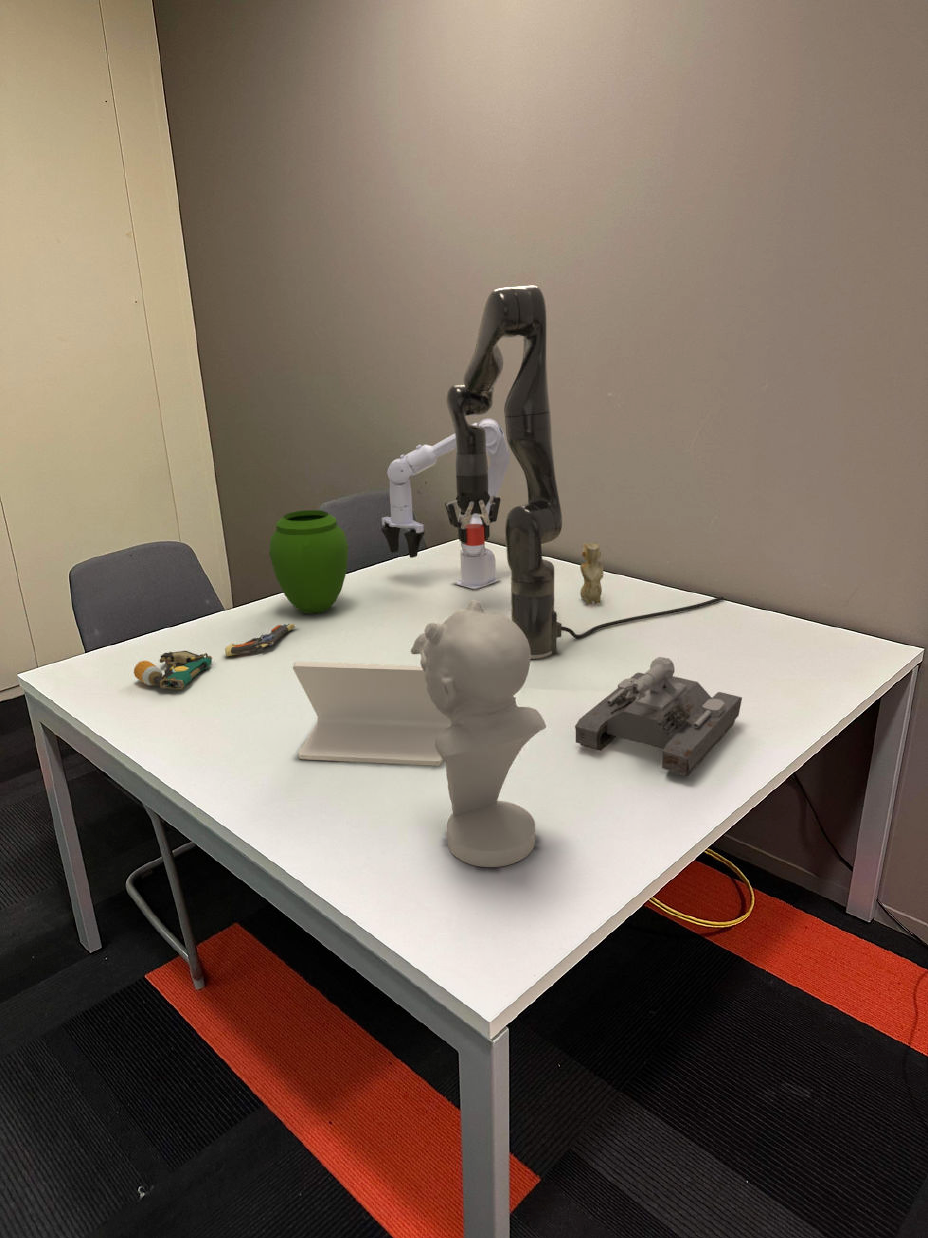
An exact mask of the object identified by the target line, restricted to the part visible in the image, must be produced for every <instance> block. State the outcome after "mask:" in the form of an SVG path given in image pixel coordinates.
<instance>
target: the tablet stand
mask: <svg viewBox="0 0 928 1238" xmlns="http://www.w3.org/2000/svg"><path fill="white" fill-rule="evenodd" d="M292 665H293V666H292V670H293V671H294V673H295V675H296V677H297V679H298V681H299V683H300V685H301V687H302V689H303V692H304V694H305V695H306V697H307V699H308V700H309V703H310V704H311V706H312V708H313V711H314V712H315V714H316V716H317V721H316V724H315V725H314V727H313V728H312V731H311V732H310V734H309V735H308V736H307V738H306V739H305V741H304V742H303V745H301V748H300V749H299V750H298V759H300V760H311V761H312V760H314V761H333V762H334V761H335V762H353V763H354V762H355V763H377V764H396V765H398V764H399V765H417V766H440V765H442V763H443V759H442V758H441V756H440V755H439V753H438V752H437V750H436V747H435V740H436V737H437V736H438V735H439V734H440V733H441V732H442V731H443V730H445V729H446V728H448V727H450V726H451V720H450V719H449V718H448V717H447V716H446V715H443V714H442V713H441V712H440V711H439V710H438V709H437V708H436V706H435V704H434V703H433V702H432V701H431V698H430V695H429V693H428V691H427V683H426V681H425V671H424V670H423V669H422V667H421V665H412V664H410V665H409V664H408V665H407V664H377V663H375V664H374V663H346V662H344V663H343V662H317V661H316V662H315V661H313V662H312V661H295V662H293V664H292Z"/></svg>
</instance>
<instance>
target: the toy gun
mask: <svg viewBox="0 0 928 1238" xmlns="http://www.w3.org/2000/svg"><path fill="white" fill-rule="evenodd" d="M295 628H296V626H295V623H287V624H286V623H284V624H278V625H276V626H275V627H273V628H271V630H270V633H265V634H264V633H263V634H261V635H260V636H259V637H254V638H251V639H250V640H248V641H246V642H244V643H240V644H235V643H231V644H228V645H227V646H226V647H225V648H224V651H225V655H226V656H227V657H229V656H236V655H238V654H243V653H248V652H251V651H254V650H258V649H261V648H265V647H269V646H273V645H274V643H276V642H277V641H278V640H279V639H280V638H281V637H282V636H284V634H286V633H287V632H290V630H292V629H295Z"/></svg>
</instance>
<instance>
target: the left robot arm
mask: <svg viewBox="0 0 928 1238" xmlns="http://www.w3.org/2000/svg"><path fill="white" fill-rule="evenodd" d="M471 425H477V426H481V427H483V428H484V429H485V432H486V454H487V457H489V460H490V463H489V465H488V494H489V495H490V496H497V497H499V496H498V495H499V493H500V490H501V487H502V484H503V481H504V478H505V476H506V473H507V470H508V467H509V464H510V462H511V461H510V460H511V455H510V451H509V447H508V444H507V443H508V442H507V441H506V440H507V439H506V436H505V433H504V430H503V429H502V427H501V426H500V424H499V423H498V422H497V421H496V420H495V419H494V418H490V417H489V418H484V419H482V420H480V421H479V422H474V423H472V424H471ZM454 450H456V435H455V432H454V433H453V434H451V435H449V436H447V437H446V438H444V439H443V440H441V441H439V442H437V443H436V444H434V445H430V444H423V445H422V444H418V445H416V447H415V449H414V450H412V451H410V452H409V453H406V454H401V455H399V457H400V458H396V459H394V460H392V462H391V463H390V464H389V466H388V468H387V478H388V479H389V481H388V482H389V504H390V516H383V517H381V525H382V526H383V527H381V532H382V534H383V535H384V537H385V539H386V541H387V544H388V547H389V551H390V553H392V554H394V553H396V552H399V549H400V547H399V546H400V533H401V530H407V531H406V532H403V533H404V534H403V535H404V537H405V540H406V543H407V548H408V556H409V558H411V559H412V558H416V557H418V553H419V548H420V545H421V542H422V540H423V537H424V535H425V530H424V524H423V523H419V522H417V521H416V520H414V517H413V497H412V487H411V478H410V477H411V476H417V475H418V474H420V473H422V472H424V471H426V470H428V469H429V468H431V467H433V466H435V465H436V464H437V461H438V458H440V457H442V456H444V455H445V454H448V453H449V452H451V451H454ZM485 508H486V511H487V513H488V515H489V510H490V503H489V502H488V504H487V505H486V507H485ZM468 524H482V522H481V519H480V517H479V515H478V514H473V515H471V518H470V520H469V523H468ZM485 545H486V543H484V544H483V545H479V546H468V545H465V544H463V543H461V542H460V547H461V549H460V553H459V555H460V579H459V580H457V581H454V585H457V586H461V587H464V588H468V589H471V590H478V589H481V588H483V587H486V586H489V585H492V584H495V583H497V582H499V579H497V575H496V574H497V573H496V572H497V569H496V557H495V554H494V552H493V551H492V550H491V549H490V548H486V546H485Z"/></svg>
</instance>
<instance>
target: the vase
mask: <svg viewBox="0 0 928 1238" xmlns="http://www.w3.org/2000/svg"><path fill="white" fill-rule="evenodd" d="M275 527H276V529H275V530H274V532H273V534H272V535H271V536H270V541H269V551H268V554H269V558H270V561H271V565H272V569H273V572H274V576H275V578H276V580H277V582H278V584H279V586H280V589H281V590H282V592H283V595H284V596H285V597H286V599H287V600H288V601H289V603H290V604H291V605H292V606H293V607H294V608H295V609H296V610H297V611H299V612H301V613H303V614H308V615H309V614H310V615H311V614H312V615H314V614H321V613H324V612H327V611H328V610H330V609H331V608H332V607H333V605H334V604H336V601H338V600H337V599H338V598H339V596H340V594H341V592H342V589H343V585H344V582H345V580H346V579H345V578H346V575H347V571H348V560H349V559H348V558H349V543H348V540H347V536H346V533H345V531H344V530H343V529H342V527H340V526H339V525H338V519H337V518H336V517H334V516H333V515H331V514H330V513H329V512H327V511H324V510H316V509H308V510H298V511H291V512H289V513H286V514H284V515H283V516H282V517H281V518H280V519H279V520H277V521H276V523H275Z"/></svg>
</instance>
